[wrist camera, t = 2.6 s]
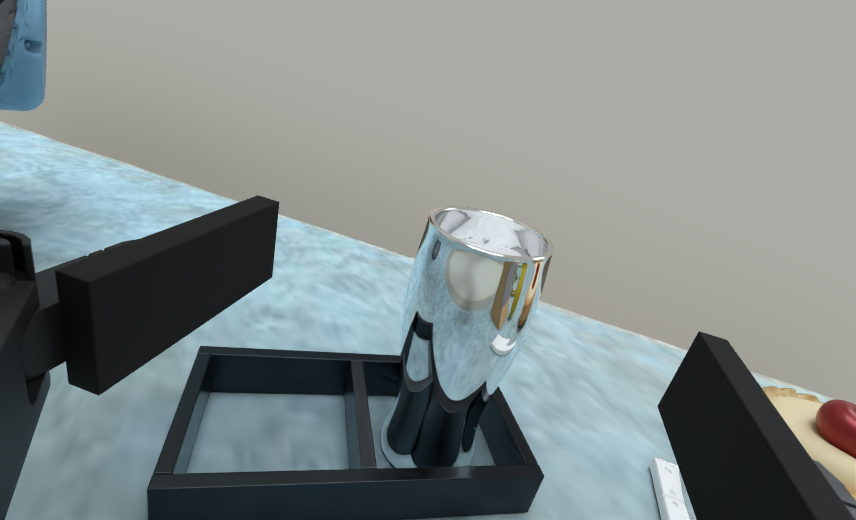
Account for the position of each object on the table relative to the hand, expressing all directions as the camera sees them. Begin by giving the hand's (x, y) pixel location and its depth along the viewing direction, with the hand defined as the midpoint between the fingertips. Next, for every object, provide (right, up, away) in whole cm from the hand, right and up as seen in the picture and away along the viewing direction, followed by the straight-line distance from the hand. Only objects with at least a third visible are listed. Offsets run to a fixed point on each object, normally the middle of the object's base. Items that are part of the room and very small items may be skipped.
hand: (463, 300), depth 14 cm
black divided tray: (-6, -10, +14) cm, 18 cm away
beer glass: (-1, -11, +15) cm, 19 cm away
